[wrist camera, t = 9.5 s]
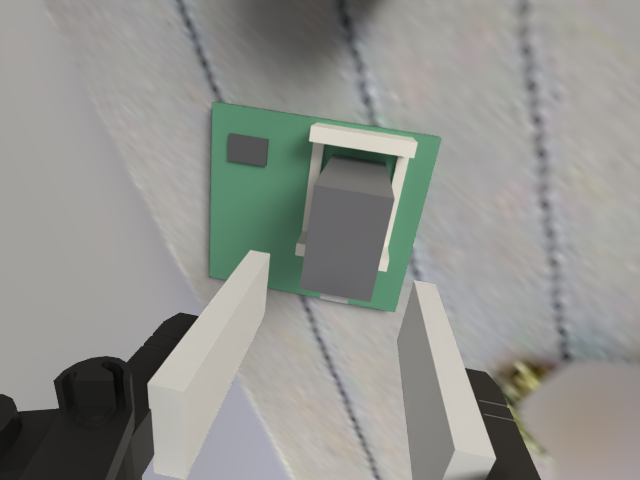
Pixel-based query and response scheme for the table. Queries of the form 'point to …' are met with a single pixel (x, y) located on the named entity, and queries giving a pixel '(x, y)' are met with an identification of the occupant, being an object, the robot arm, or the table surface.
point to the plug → (347, 229)
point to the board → (305, 190)
